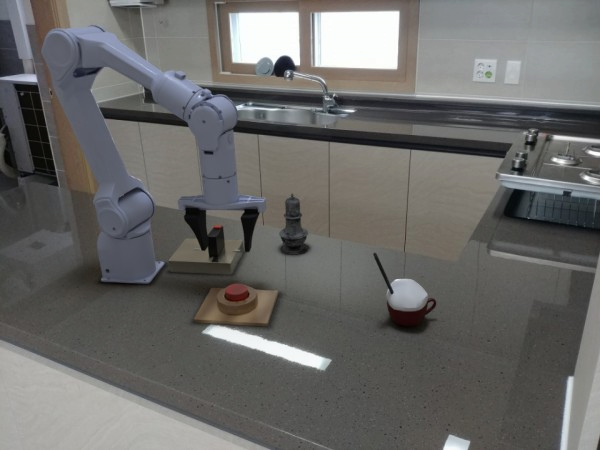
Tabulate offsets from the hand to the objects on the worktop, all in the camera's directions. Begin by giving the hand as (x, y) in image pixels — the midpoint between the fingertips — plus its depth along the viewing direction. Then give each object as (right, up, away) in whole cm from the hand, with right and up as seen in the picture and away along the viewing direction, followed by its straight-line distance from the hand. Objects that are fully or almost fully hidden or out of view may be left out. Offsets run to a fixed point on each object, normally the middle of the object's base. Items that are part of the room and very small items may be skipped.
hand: (226, 248), depth 92 cm
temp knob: (-3, -1, +11) cm, 12 cm away
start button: (+2, -8, -4) cm, 9 cm away
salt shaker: (+11, -1, +17) cm, 21 cm away
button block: (+2, -10, -3) cm, 10 cm away
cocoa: (+29, -11, -8) cm, 32 cm away
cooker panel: (-5, -3, +13) cm, 14 cm away
